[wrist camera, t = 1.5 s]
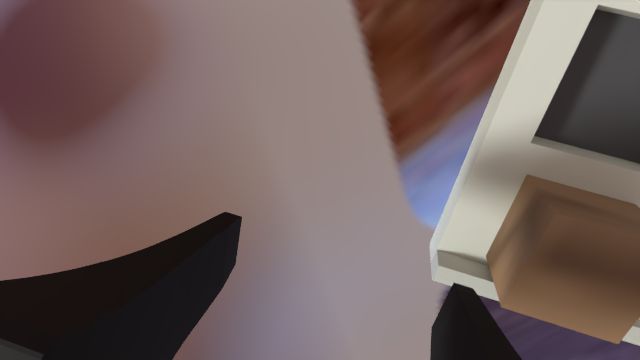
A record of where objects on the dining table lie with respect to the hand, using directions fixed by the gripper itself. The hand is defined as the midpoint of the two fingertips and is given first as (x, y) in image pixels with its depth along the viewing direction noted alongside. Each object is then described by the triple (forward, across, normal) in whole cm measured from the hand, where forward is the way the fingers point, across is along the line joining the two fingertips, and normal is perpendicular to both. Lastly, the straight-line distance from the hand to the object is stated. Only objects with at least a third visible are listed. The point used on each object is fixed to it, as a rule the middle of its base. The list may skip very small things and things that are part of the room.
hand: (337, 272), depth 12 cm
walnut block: (+8, -10, 0) cm, 13 cm away
